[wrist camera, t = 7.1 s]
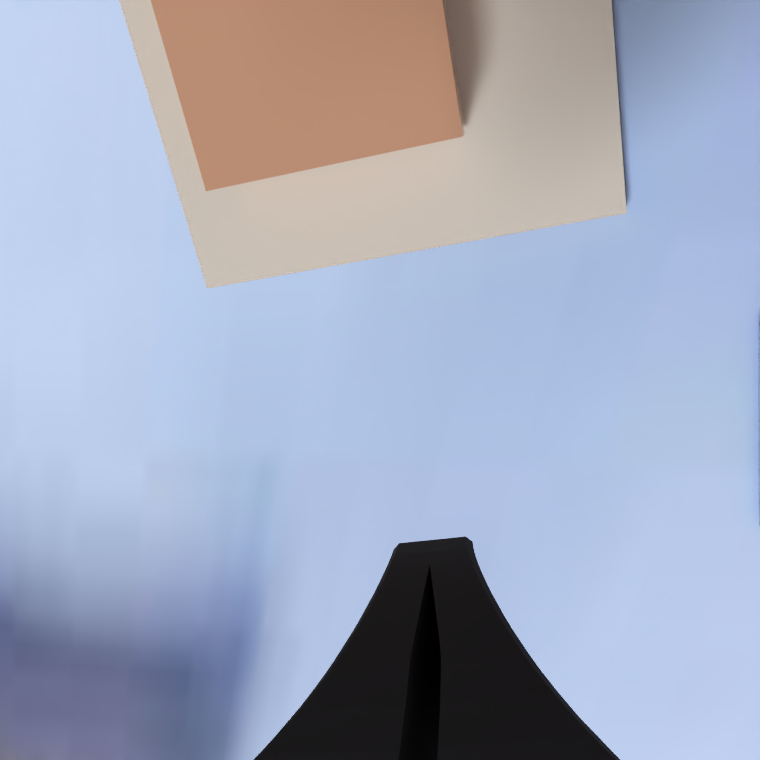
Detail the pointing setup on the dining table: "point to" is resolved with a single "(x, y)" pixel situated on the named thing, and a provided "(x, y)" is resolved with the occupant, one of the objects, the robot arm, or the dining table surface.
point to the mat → (425, 151)
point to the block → (308, 81)
